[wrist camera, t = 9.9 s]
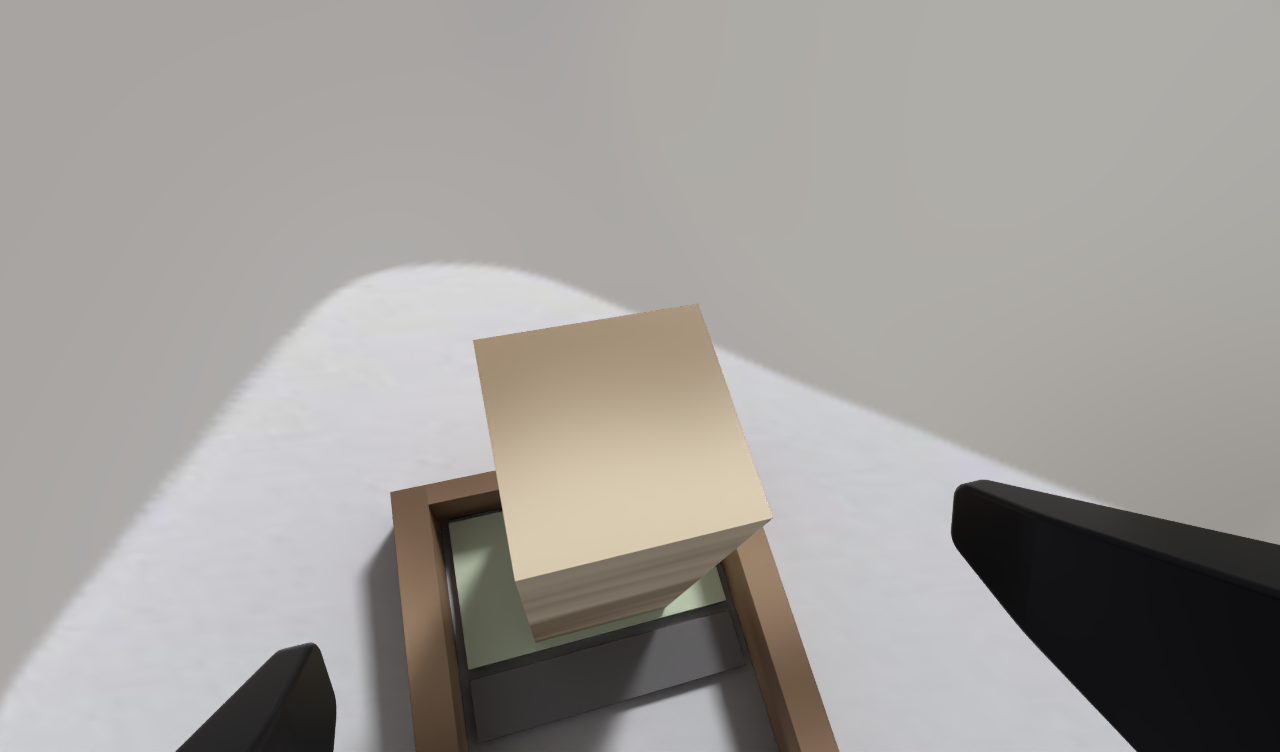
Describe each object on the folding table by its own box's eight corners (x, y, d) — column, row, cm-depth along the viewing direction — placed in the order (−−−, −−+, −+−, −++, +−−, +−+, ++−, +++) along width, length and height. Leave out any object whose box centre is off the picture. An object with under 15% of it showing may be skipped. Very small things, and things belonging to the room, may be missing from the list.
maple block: (665, 608, 20) (773, 517, 10) (535, 642, 19) (514, 581, 9) (632, 484, 21) (698, 303, 12) (512, 511, 21) (473, 340, 11)
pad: (724, 601, 20) (726, 600, 20) (469, 670, 19) (468, 669, 18) (685, 473, 22) (687, 470, 22) (449, 525, 20) (448, 523, 20)
